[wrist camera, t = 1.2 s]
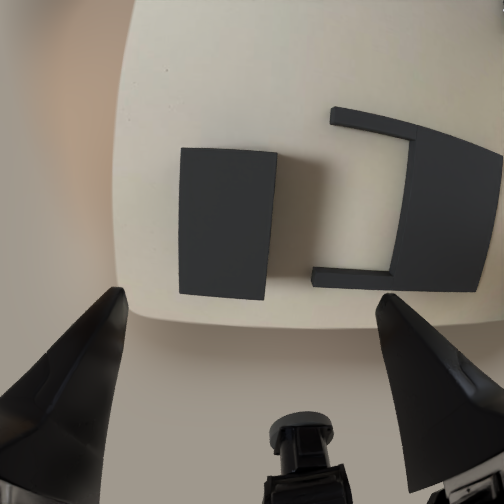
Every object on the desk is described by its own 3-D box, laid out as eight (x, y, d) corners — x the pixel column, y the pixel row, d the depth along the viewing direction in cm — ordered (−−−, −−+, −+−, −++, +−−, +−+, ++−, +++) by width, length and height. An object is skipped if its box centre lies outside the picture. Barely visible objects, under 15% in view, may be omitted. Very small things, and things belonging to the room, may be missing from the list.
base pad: (469, 287, 25) (475, 292, 24) (310, 281, 24) (313, 287, 23) (495, 155, 20) (503, 156, 19) (330, 108, 20) (334, 106, 19)
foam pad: (262, 277, 24) (264, 301, 21) (190, 272, 24) (179, 293, 21) (273, 152, 21) (277, 152, 17) (193, 148, 21) (180, 147, 17)
